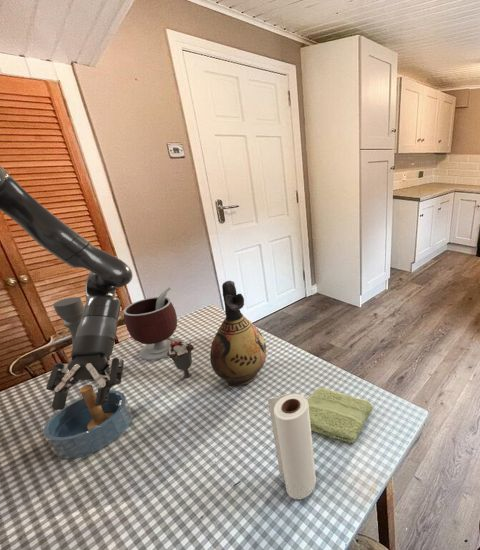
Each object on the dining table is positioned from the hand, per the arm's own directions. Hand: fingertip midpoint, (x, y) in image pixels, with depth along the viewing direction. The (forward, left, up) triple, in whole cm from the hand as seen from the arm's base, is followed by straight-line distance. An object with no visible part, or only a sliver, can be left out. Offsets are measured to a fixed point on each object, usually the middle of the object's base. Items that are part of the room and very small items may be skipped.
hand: (79, 407), depth 69 cm
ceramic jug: (+32, +15, -9) cm, 37 cm away
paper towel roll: (+48, -23, -9) cm, 54 cm away
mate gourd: (+3, +36, -9) cm, 37 cm away
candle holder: (-12, +26, -9) cm, 30 cm away
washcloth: (+57, -8, -9) cm, 58 cm away
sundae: (+16, +17, -9) cm, 25 cm away
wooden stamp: (+1, +3, -8) cm, 9 cm away
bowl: (0, +1, -9) cm, 9 cm away
